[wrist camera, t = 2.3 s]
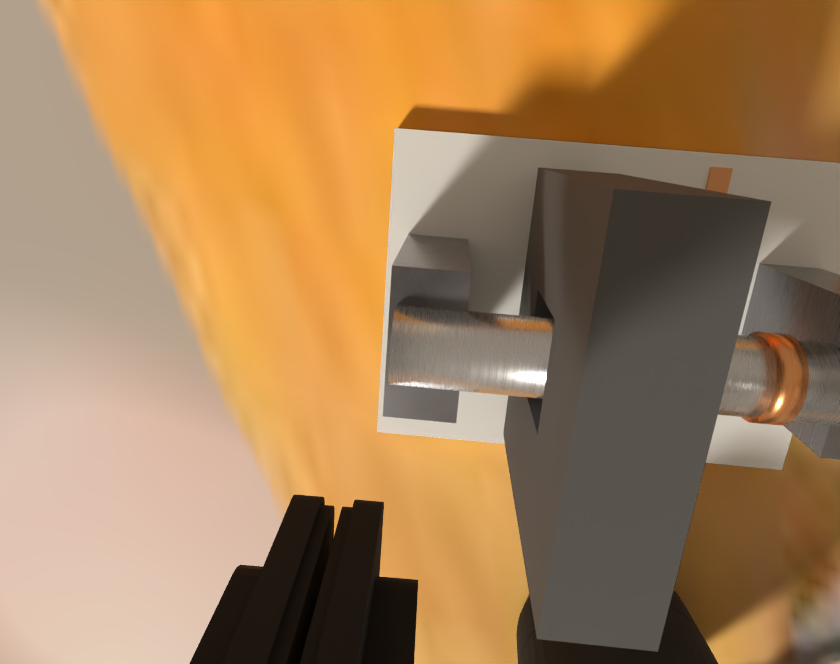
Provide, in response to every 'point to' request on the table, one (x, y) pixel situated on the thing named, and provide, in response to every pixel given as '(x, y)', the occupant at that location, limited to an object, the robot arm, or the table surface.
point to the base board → (510, 227)
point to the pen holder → (675, 660)
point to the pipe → (531, 341)
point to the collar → (622, 392)
